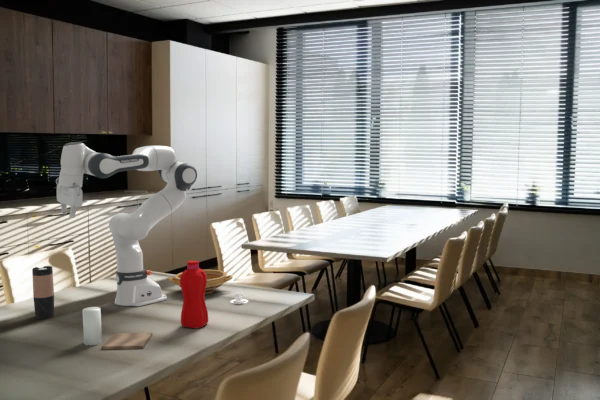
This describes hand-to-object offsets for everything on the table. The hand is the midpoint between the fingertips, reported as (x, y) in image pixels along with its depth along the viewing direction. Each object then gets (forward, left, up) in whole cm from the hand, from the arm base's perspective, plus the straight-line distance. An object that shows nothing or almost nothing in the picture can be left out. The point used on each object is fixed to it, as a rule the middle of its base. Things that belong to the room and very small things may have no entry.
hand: (68, 215), depth 240 cm
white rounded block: (+4, +42, -41) cm, 59 cm away
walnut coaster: (-6, +49, -41) cm, 64 cm away
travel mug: (+10, -3, -41) cm, 42 cm away
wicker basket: (-59, -1, -41) cm, 72 cm away
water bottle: (-34, +45, -41) cm, 70 cm away
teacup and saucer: (-61, +26, -41) cm, 78 cm away
